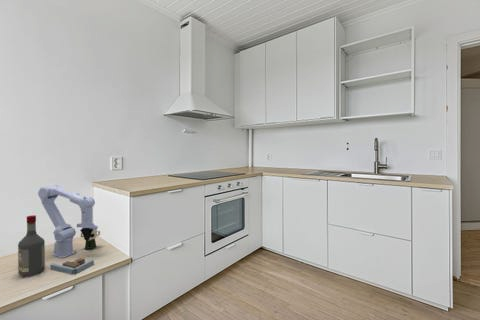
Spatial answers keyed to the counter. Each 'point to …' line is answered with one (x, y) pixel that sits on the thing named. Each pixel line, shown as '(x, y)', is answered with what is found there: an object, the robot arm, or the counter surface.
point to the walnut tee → (74, 263)
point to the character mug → (91, 239)
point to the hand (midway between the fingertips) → (87, 239)
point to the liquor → (31, 251)
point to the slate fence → (70, 269)
